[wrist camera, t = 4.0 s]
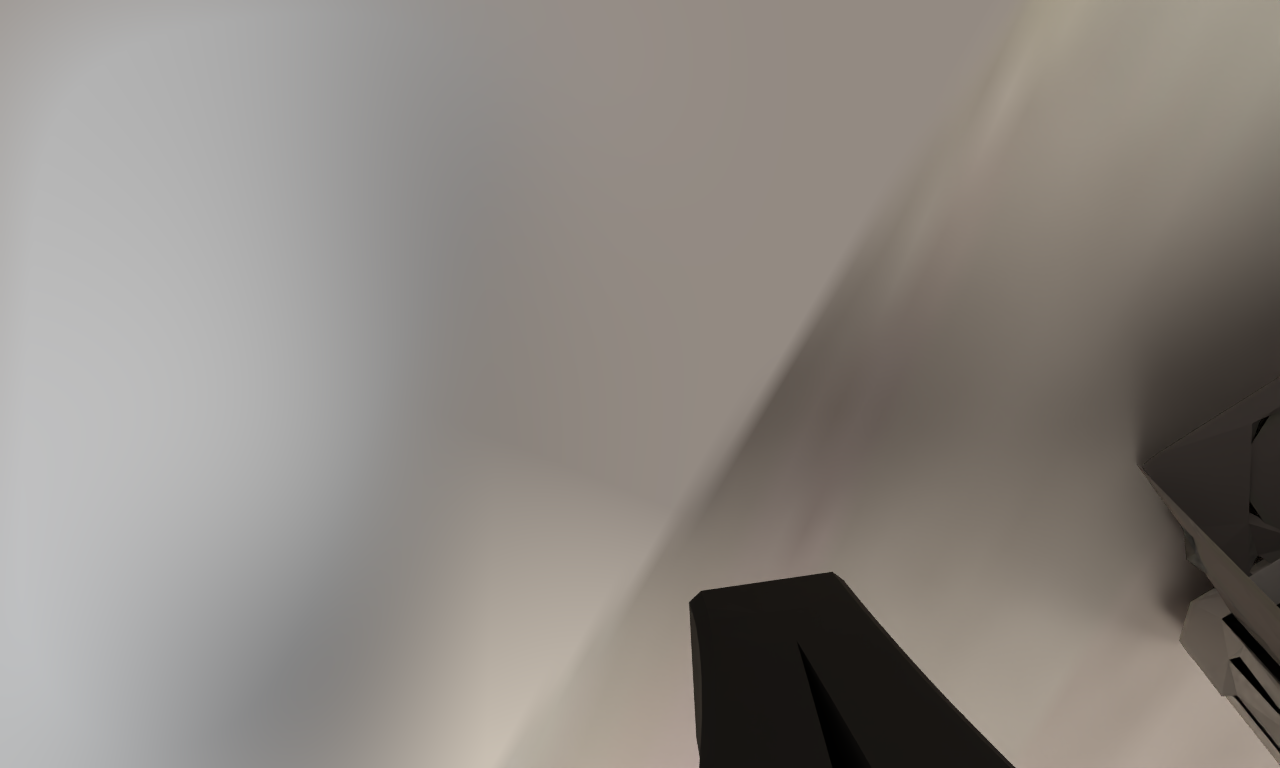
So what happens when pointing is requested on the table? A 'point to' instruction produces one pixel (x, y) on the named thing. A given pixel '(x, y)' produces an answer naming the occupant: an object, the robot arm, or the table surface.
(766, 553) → the table surface
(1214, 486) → the electrical switch
